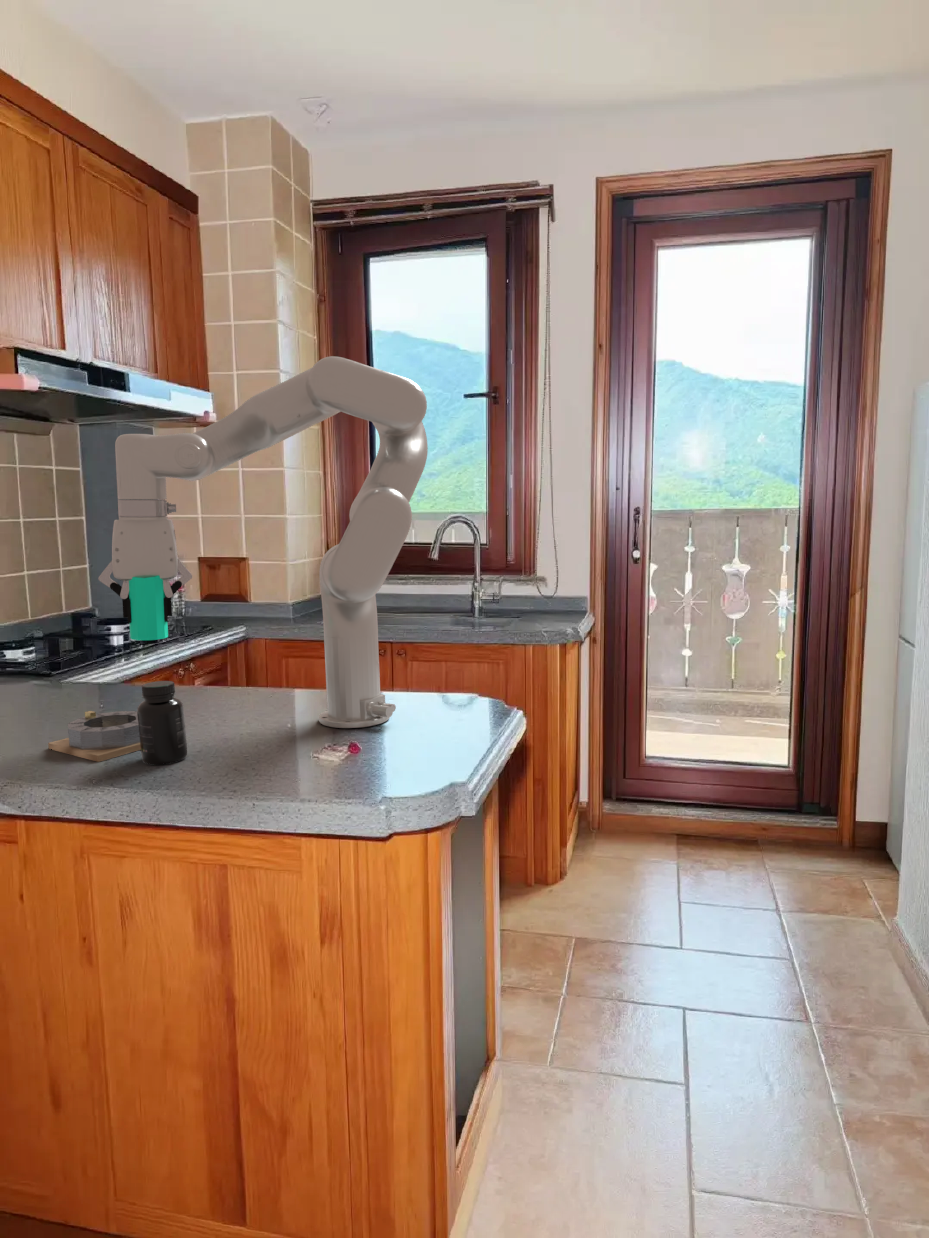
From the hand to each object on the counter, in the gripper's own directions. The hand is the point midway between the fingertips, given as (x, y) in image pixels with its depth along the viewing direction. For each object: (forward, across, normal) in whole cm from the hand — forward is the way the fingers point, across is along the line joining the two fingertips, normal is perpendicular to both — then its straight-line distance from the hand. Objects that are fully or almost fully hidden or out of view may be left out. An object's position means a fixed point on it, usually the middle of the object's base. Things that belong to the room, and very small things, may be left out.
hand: (148, 620), depth 146 cm
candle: (+3, 0, 0) cm, 3 cm away
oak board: (+20, +6, +1) cm, 21 cm away
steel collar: (+20, +6, +1) cm, 21 cm away
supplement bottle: (+20, -2, +14) cm, 24 cm away
